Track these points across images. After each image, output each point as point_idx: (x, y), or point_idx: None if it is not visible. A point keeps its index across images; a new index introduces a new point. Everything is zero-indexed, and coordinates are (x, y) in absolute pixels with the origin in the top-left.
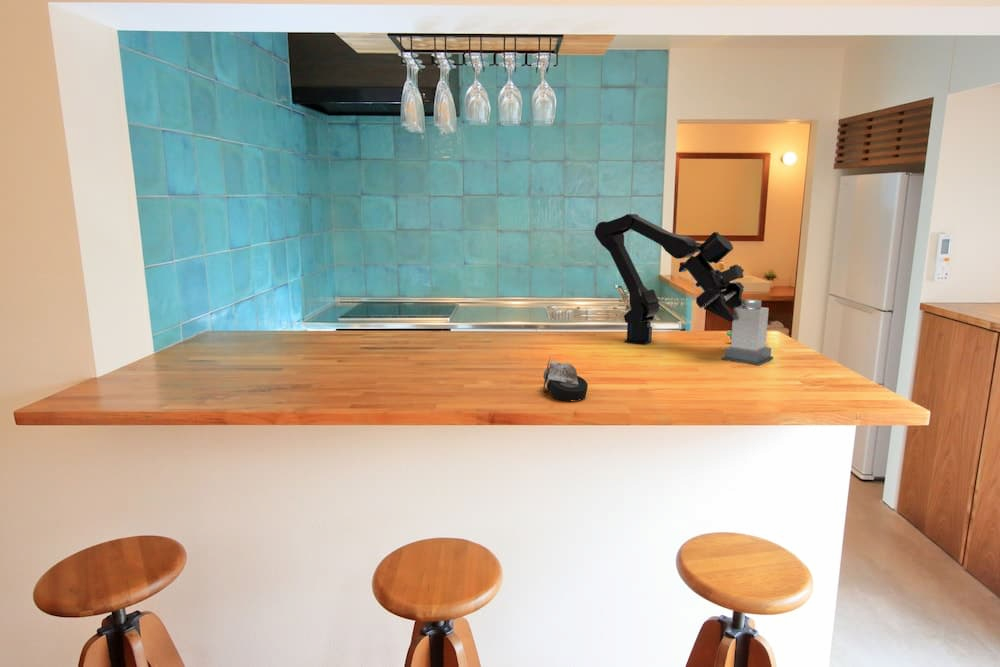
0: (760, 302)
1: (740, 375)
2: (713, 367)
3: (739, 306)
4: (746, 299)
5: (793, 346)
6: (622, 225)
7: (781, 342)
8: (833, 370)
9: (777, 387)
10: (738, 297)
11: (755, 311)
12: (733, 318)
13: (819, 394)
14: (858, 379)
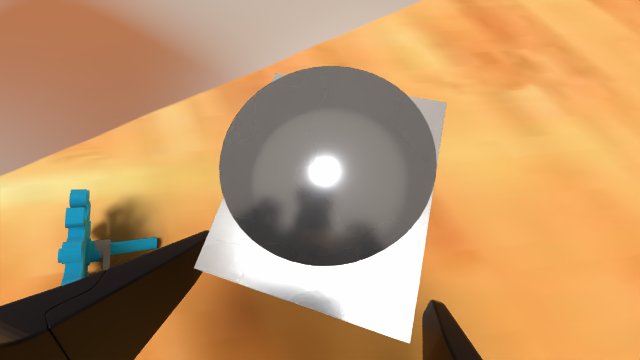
0: (353, 77)
1: (563, 224)
2: (519, 322)
3: (288, 289)
4: (265, 217)
5: (130, 135)
6: None
7: (83, 166)
8: (359, 46)
9: (617, 124)
10: (14, 350)
11: (439, 138)
12: (440, 306)
13: (603, 49)
14: (414, 7)
